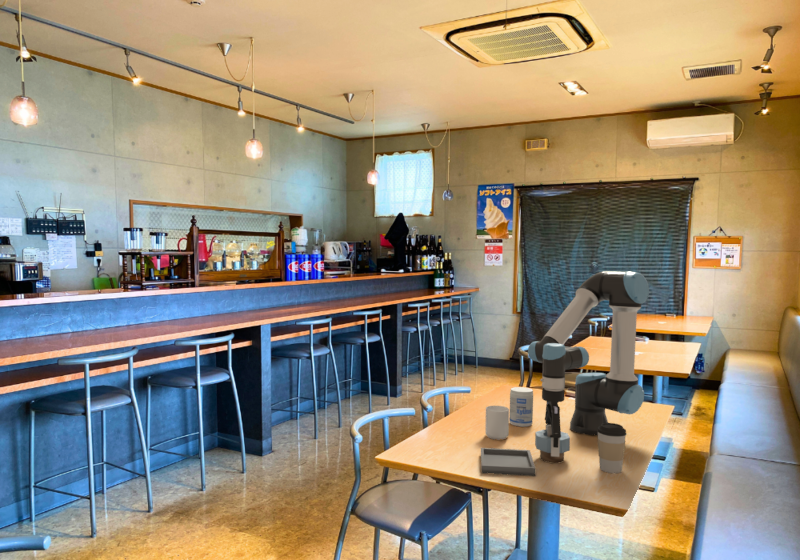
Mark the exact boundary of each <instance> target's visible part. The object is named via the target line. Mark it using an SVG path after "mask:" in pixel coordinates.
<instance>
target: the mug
mask: <svg viewBox="0 0 800 560" xmlns="http://www.w3.org/2000/svg"><path fill="white" fill-rule="evenodd" d="M509 415H510V408H508V407H507V406H504V405H489V406H486V407H485V436H487V438H488V439H491V440H495V439H497V441H501V440H500V439H502V440H505V439H506V438H508V436H509V431H510V429H509V428H510V425H509V424H510V422H509Z"/></svg>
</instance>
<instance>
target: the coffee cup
mask: <svg viewBox="0 0 800 560" xmlns="http://www.w3.org/2000/svg"><path fill="white" fill-rule="evenodd" d="M597 431H598V435H597V451H598V453H597V454H598V459H599V460H598V461H599V469H600V470H601V471H602V472H605V473H608V474H621V471H622V472H623V465H624V463H623V462H624V459H625V458H624V457H625V447H626V435H627V430H626V429H625V428H624V426H623V425H621V424H618V423H614V422H608V423H603V424H601V426H599V427H598V430H597Z"/></svg>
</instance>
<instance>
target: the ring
mask: <svg viewBox="0 0 800 560" xmlns="http://www.w3.org/2000/svg"><path fill="white" fill-rule="evenodd" d="M534 434H535V435H534V436H535V438H534V439H535V440H534V441H535V442H534V443H535V444H534V445H535V447H536V448H535V449H536V450H539V451H540V450H541V451H544V452H547V453H551V438H550V437H547V430H546V429H540V430H537V431H535V433H534ZM570 442H571V437H570V436H569V433H568V432H564V431H561V438H560V450H559V453H564V454H565V453H567V452H569V451H570V450H571V449H570V448H571V445H570V444H571V443H570Z"/></svg>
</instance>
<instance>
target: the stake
mask: <svg viewBox="0 0 800 560" xmlns="http://www.w3.org/2000/svg"><path fill="white" fill-rule="evenodd" d="M555 434H558V433H555ZM550 435H552V430H551V426H548V427H547V437H550ZM539 459H540V460H541V461H543V462H544V463H545V462H546V463H549V464H550V463H551V464H561V463H563V462H564V461H565V452H564V453H559V457H554V456H551V453H547V452H544V451H541V450H539Z"/></svg>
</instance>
